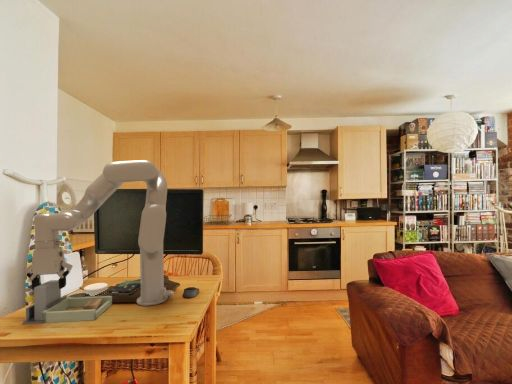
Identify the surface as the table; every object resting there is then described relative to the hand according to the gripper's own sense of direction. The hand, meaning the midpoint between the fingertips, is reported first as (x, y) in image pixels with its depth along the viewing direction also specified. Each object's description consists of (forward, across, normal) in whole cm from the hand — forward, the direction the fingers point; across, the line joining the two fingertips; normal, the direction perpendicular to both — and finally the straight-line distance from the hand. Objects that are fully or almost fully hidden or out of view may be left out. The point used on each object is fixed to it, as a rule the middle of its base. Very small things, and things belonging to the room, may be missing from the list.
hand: (49, 288), depth 108 cm
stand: (+10, +1, 0) cm, 10 cm away
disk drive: (+11, -20, -25) cm, 34 cm away
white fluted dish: (+11, -6, -23) cm, 26 cm away
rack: (+10, -11, 0) cm, 15 cm away
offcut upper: (+9, -16, 0) cm, 18 cm away
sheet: (+10, +1, 0) cm, 10 cm away
